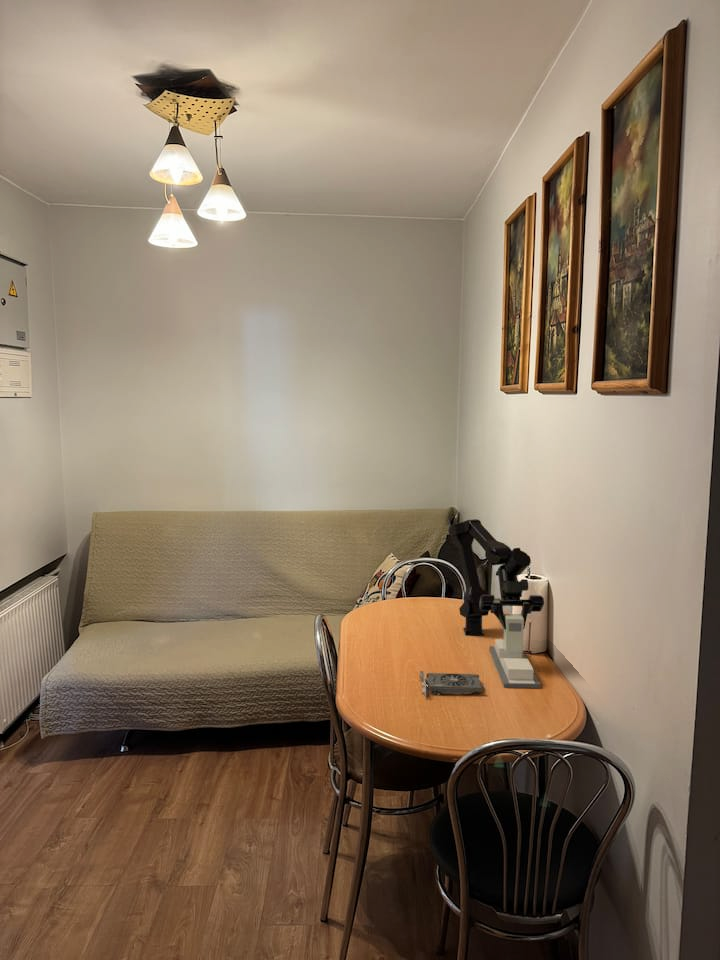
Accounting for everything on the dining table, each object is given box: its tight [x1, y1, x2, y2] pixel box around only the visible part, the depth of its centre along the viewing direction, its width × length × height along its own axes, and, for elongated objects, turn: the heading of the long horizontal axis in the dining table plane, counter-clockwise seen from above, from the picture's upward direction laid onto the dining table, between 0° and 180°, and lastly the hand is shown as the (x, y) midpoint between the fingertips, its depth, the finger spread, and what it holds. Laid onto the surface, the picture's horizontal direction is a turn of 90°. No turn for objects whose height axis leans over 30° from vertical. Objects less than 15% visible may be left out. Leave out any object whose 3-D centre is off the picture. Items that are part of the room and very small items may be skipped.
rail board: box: [488, 638, 541, 689], centre depth 188 cm, size 28×10×4 cm, turn 177°
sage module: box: [502, 613, 525, 652], centre depth 187 cm, size 5×5×10 cm
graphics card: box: [419, 670, 484, 699], centre depth 174 cm, size 17×4×12 cm
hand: (514, 629), depth 186 cm, fingers closed on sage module, 5 cm apart
